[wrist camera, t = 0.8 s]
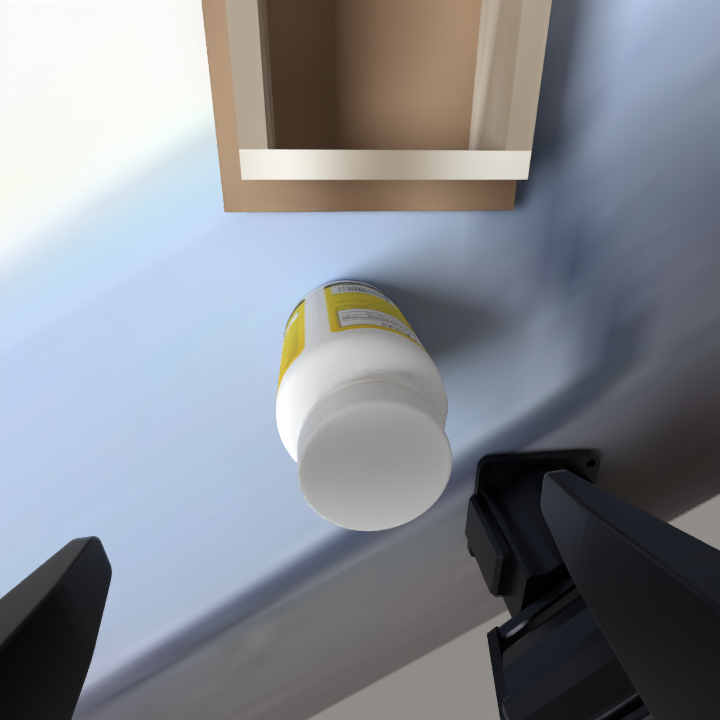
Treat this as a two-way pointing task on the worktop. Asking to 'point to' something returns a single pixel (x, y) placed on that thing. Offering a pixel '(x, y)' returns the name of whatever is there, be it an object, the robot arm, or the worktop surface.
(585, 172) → the worktop surface
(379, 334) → the supplement bottle
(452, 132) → the socket board
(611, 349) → the worktop surface
